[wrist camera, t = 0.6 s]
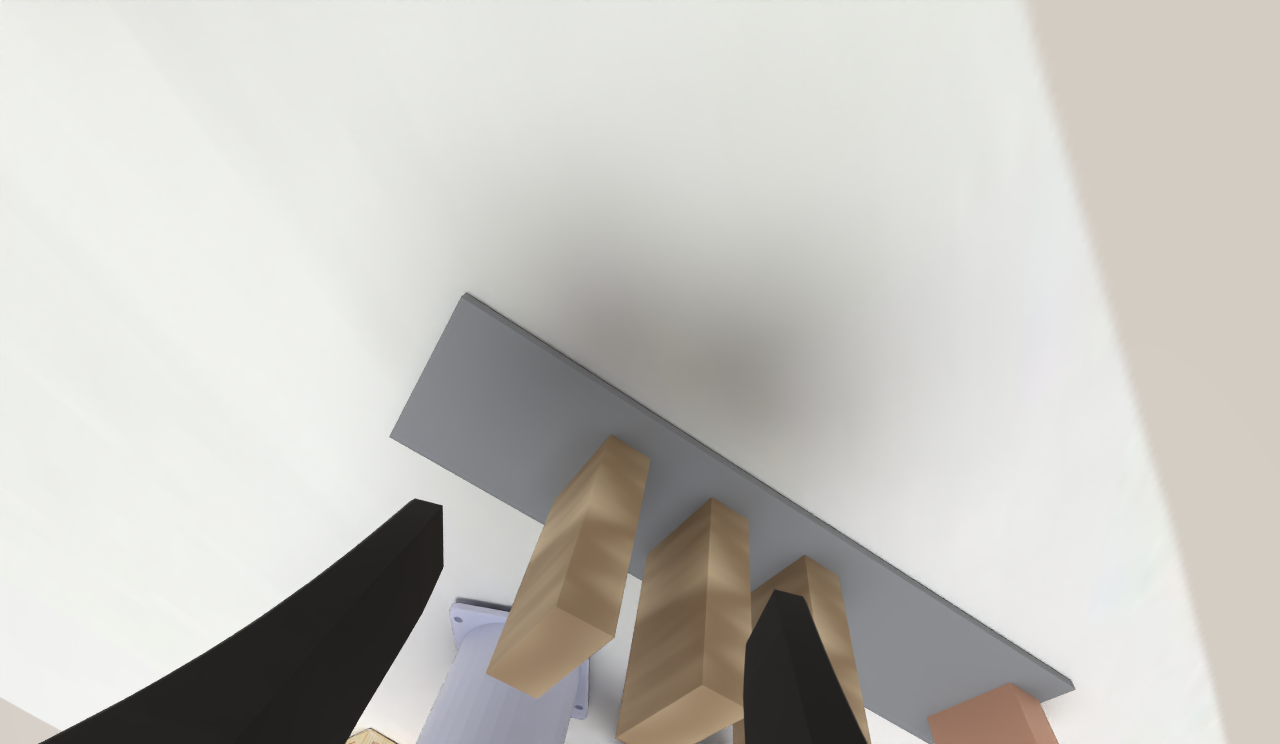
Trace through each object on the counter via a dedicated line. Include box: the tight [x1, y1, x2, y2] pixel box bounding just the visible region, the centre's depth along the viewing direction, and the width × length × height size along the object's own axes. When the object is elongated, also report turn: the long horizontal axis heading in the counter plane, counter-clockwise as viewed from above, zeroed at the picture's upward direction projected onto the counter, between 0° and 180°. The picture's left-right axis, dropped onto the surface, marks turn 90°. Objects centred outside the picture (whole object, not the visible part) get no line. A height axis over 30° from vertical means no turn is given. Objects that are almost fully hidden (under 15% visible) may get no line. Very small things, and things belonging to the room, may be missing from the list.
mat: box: [389, 293, 1075, 744], centre depth 25 cm, size 34×8×1 cm, turn 56°
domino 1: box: [486, 434, 651, 699], centre depth 20 cm, size 2×5×8 cm, turn 146°
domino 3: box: [733, 555, 871, 744], centre depth 22 cm, size 2×5×8 cm, turn 147°
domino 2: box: [616, 497, 752, 744], centre depth 21 cm, size 2×5×8 cm, turn 146°
